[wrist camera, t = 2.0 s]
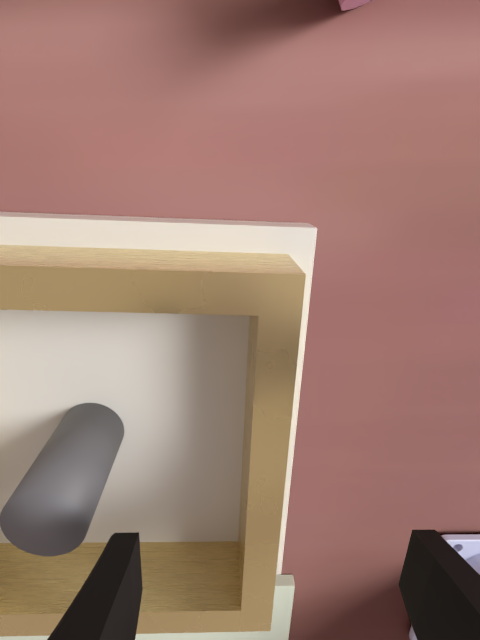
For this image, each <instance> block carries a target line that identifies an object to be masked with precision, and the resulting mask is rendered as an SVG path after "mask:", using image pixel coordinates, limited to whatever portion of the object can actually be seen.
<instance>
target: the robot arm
mask: <svg viewBox="0 0 480 640" xmlns="http://www.w3.org/2000/svg"><path fill="white" fill-rule="evenodd" d="M399 587H400V591H401V594H402V597H403V600H404V603H405V607H406V610H407V613H408V616H409V619H410V622H411V629H410V633H409V638H410V640H480V534H450V535H439V534H438V533H437V532H436V531H435V530H412V534H411V538H410V542H409V546H408V550H407V554H406V557H405V561H404V565H403V569H402V573H401V577H400V581H399ZM142 590H143V587H142V571H141V555H140V539H139V532H138V533H114V534H113V535H112V536H111V537H110V539H109V541H108V543H107V544H106V546H105V548H104V550H103V552H102V554H101V555H100V557H99V559H98V561H97V562H96V564H95V566H94V568H93V569H92V571H91V573H90V574H89V576H88V578H87V579H86V581H85V583H84V584H83V586H82V587H81V589H80V591H79V592H78V594H77V595H76V597H75V598H74V600H73V601H72V603H71V605H70V606H69V608H68V609H67V611H66V612H65V614H64V615H63V617H62V618H61V620H60V622H59V623H58V624H57V626H56V627H55V629H54V630H53V632H52V633H51V635H50V636H49V637H48V639H47V640H135V637H136V631H137V624H138V618H139V611H140V604H141V597H142Z"/></svg>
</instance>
